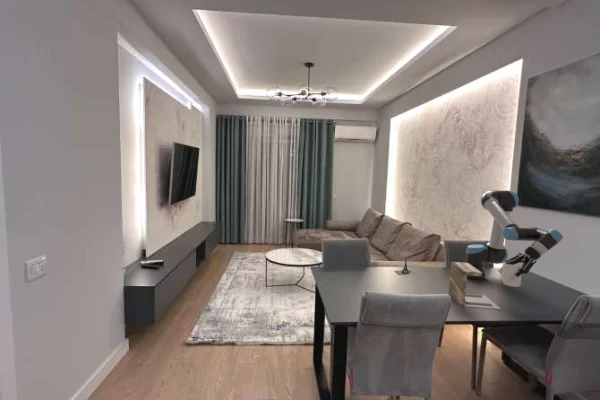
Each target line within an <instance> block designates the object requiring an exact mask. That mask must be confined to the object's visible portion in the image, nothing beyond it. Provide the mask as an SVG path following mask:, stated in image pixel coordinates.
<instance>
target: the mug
mask: <svg viewBox="0 0 600 400" xmlns="http://www.w3.org/2000/svg"><path fill="white" fill-rule="evenodd" d="M503 266H504V267H503V269H502V274H501V277H502V284H504V286H508V287H514V288H518V287H519V288H520V287H521V284H522V275H523V274H521V275H520V276H519V277H517V278H516V279H515V280H513V281H512V280H511V279H510V278H509V276H511V275H512V274H513V273H514V272H516V271H517V270H519V269H520V268H521V266H520V265H517V264H514V265H511V264H506V263H505V264H503ZM503 270H504V272H503ZM519 271H520V270H519Z"/></svg>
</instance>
